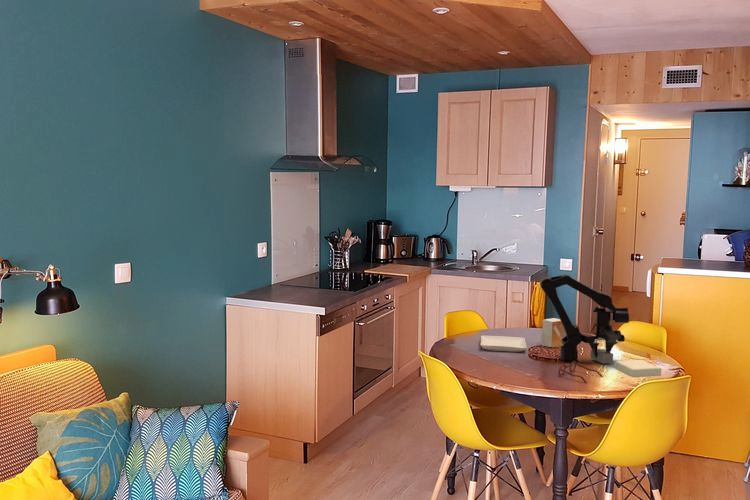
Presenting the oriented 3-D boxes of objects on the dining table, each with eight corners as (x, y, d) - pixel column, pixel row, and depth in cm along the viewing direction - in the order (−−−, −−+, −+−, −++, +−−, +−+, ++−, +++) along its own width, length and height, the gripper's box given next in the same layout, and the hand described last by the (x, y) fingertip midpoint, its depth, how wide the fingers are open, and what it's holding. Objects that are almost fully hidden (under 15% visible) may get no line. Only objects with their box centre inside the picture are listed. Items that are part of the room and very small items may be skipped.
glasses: (574, 371, 274) (574, 359, 273) (603, 377, 264) (603, 365, 264) (557, 377, 265) (557, 365, 264) (586, 384, 255) (587, 372, 255)
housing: (603, 363, 281) (603, 352, 281) (590, 358, 290) (590, 347, 289) (612, 362, 283) (613, 352, 282) (599, 357, 291) (600, 346, 291)
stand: (632, 376, 265) (633, 369, 264) (614, 367, 277) (614, 361, 277) (661, 375, 267) (661, 368, 267) (641, 366, 280) (642, 359, 280)
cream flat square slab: (524, 343, 320) (524, 336, 320) (526, 354, 300) (527, 347, 299) (480, 341, 324) (481, 334, 324) (480, 352, 303) (480, 344, 303)
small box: (551, 348, 309) (552, 321, 308) (541, 346, 314) (542, 319, 313) (562, 346, 313) (564, 319, 312) (552, 343, 319) (553, 317, 317)
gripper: (593, 326, 275) (592, 363, 276) (633, 325, 279) (631, 360, 280) (579, 321, 286) (578, 356, 287) (618, 319, 290) (616, 354, 291)
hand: (601, 357), depth 286 cm, fingers closed on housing, 5 cm apart
